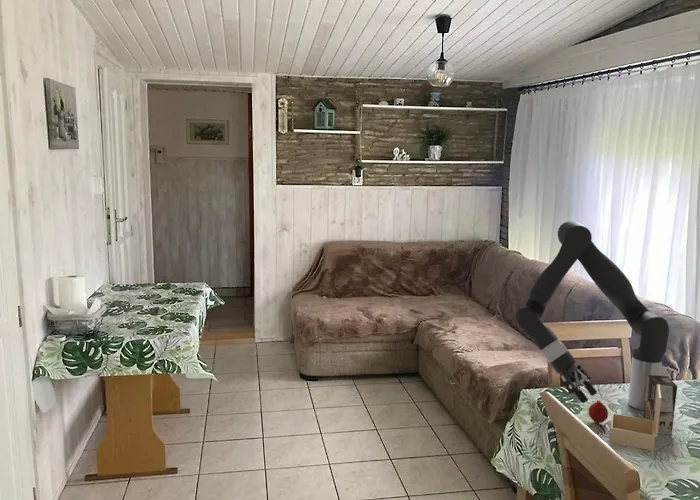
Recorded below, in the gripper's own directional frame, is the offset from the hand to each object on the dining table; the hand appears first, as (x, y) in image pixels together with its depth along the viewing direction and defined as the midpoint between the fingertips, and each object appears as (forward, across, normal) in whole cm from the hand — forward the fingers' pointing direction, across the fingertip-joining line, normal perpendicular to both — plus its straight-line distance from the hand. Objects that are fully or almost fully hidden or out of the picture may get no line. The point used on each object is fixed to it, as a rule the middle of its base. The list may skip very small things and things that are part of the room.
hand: (590, 398), depth 189 cm
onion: (+8, 0, +4) cm, 9 cm away
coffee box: (+19, +10, -7) cm, 22 cm away
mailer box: (+15, -3, -4) cm, 16 cm away
